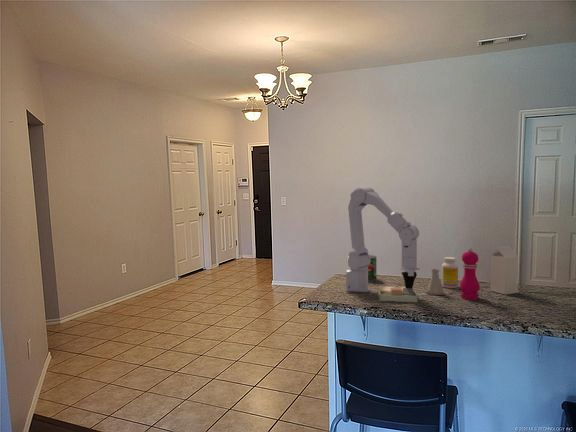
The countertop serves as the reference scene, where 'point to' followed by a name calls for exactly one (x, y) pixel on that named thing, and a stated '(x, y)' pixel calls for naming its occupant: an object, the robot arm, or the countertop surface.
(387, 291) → the birch plate
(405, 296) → the box
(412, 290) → the slate tile
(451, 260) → the supplement bottle
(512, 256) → the milk carton
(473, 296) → the pepper mill
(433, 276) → the flask
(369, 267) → the canned tomato
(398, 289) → the terracotta tile
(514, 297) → the countertop surface
